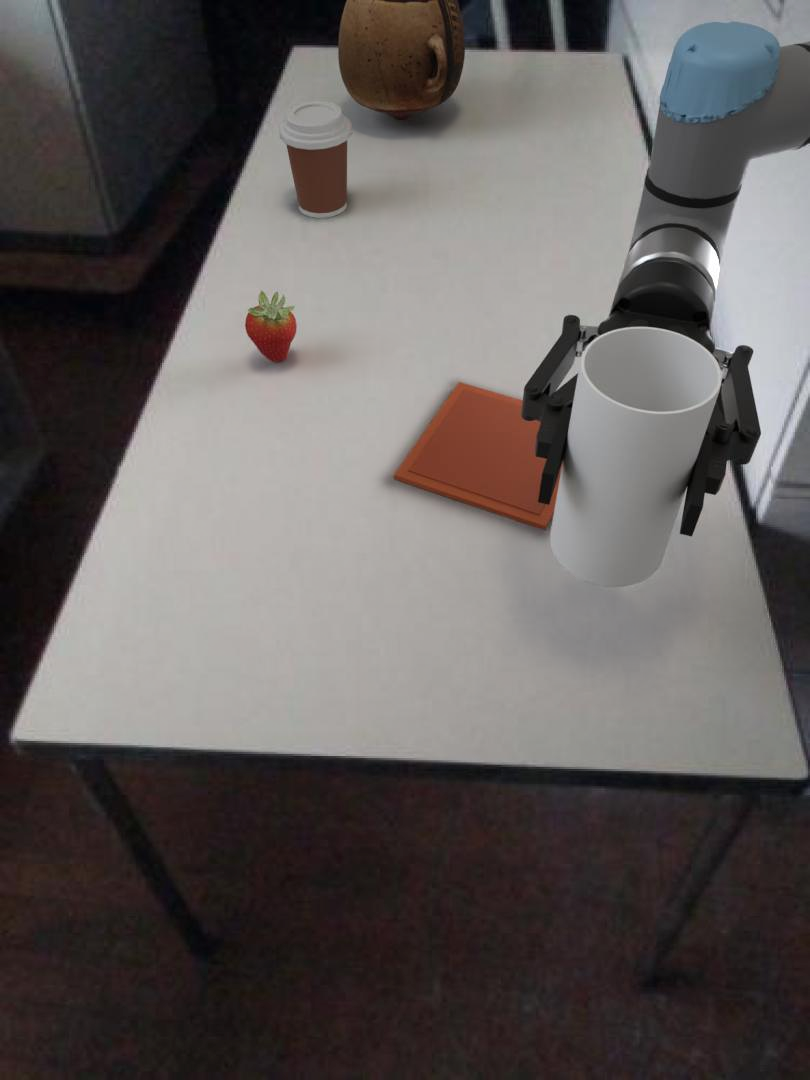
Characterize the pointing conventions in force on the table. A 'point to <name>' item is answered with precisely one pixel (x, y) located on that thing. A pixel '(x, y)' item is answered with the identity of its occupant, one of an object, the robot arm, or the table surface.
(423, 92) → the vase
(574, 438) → the cup
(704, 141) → the robot arm
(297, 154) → the coffee cup
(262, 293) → the fruit
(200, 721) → the table surface
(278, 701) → the table surface
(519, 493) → the mat
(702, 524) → the table surface
